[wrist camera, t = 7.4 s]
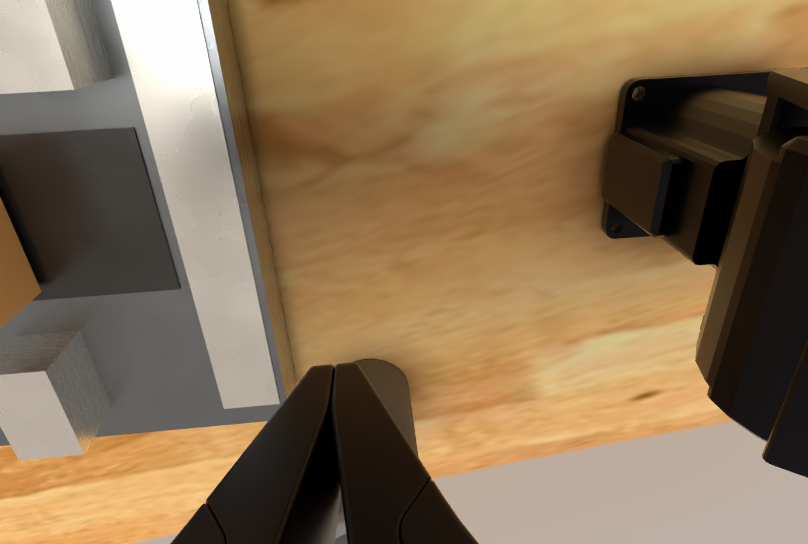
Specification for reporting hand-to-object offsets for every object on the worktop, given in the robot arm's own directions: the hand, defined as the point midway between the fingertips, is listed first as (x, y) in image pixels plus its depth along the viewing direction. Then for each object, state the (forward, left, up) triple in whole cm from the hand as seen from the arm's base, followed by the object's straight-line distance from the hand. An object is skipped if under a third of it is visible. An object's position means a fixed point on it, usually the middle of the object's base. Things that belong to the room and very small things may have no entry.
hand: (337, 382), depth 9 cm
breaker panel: (+10, 0, -12) cm, 16 cm away
